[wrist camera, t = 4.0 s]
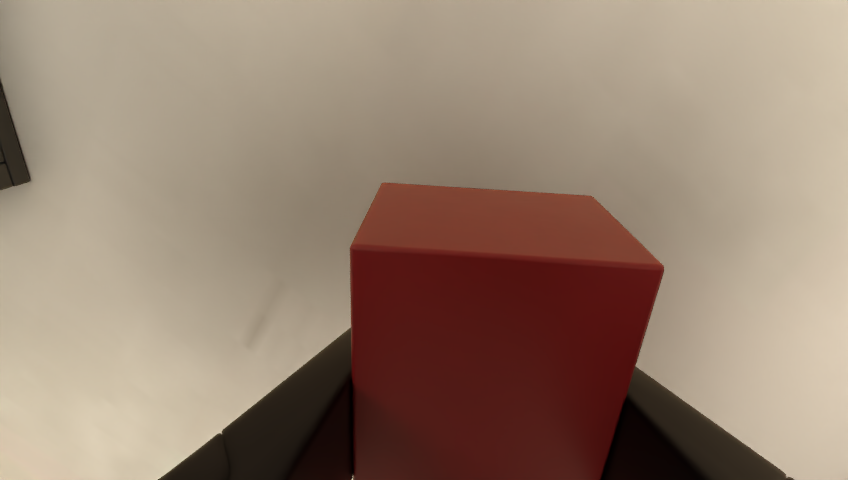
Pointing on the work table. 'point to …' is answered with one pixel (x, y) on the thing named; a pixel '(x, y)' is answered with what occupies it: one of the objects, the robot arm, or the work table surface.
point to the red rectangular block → (492, 333)
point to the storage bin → (10, 152)
